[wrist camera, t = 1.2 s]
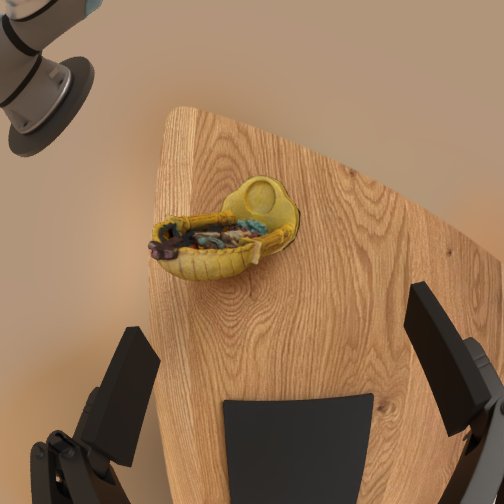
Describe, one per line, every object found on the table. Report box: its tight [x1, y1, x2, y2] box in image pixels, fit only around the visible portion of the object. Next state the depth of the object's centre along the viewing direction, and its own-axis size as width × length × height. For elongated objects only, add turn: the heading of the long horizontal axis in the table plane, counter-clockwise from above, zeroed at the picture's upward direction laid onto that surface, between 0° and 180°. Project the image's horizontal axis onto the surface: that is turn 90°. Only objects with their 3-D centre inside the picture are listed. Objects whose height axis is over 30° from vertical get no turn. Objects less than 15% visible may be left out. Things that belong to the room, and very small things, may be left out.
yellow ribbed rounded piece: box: [148, 175, 300, 281], centre depth 22 cm, size 12×8×15 cm
